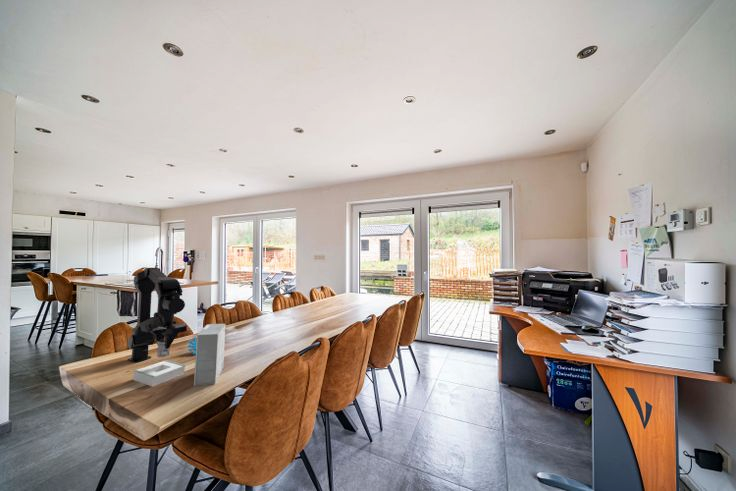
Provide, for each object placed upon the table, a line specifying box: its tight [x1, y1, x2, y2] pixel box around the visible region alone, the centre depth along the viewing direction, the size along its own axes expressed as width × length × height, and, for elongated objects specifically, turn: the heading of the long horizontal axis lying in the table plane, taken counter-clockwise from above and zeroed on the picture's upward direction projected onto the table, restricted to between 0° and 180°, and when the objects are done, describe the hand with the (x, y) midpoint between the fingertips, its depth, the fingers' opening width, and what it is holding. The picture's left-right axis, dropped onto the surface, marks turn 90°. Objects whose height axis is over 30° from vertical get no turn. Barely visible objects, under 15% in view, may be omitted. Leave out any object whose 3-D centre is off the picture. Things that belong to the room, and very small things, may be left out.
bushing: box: [156, 338, 171, 358], centre depth 110 cm, size 5×5×6 cm
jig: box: [132, 359, 186, 387], centre depth 109 cm, size 12×12×4 cm
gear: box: [187, 336, 197, 355], centre depth 137 cm, size 11×6×10 cm
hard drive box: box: [193, 323, 226, 387], centre depth 111 cm, size 16×8×20 cm, turn 18°
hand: (163, 347), depth 110 cm, fingers closed on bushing, 4 cm apart
